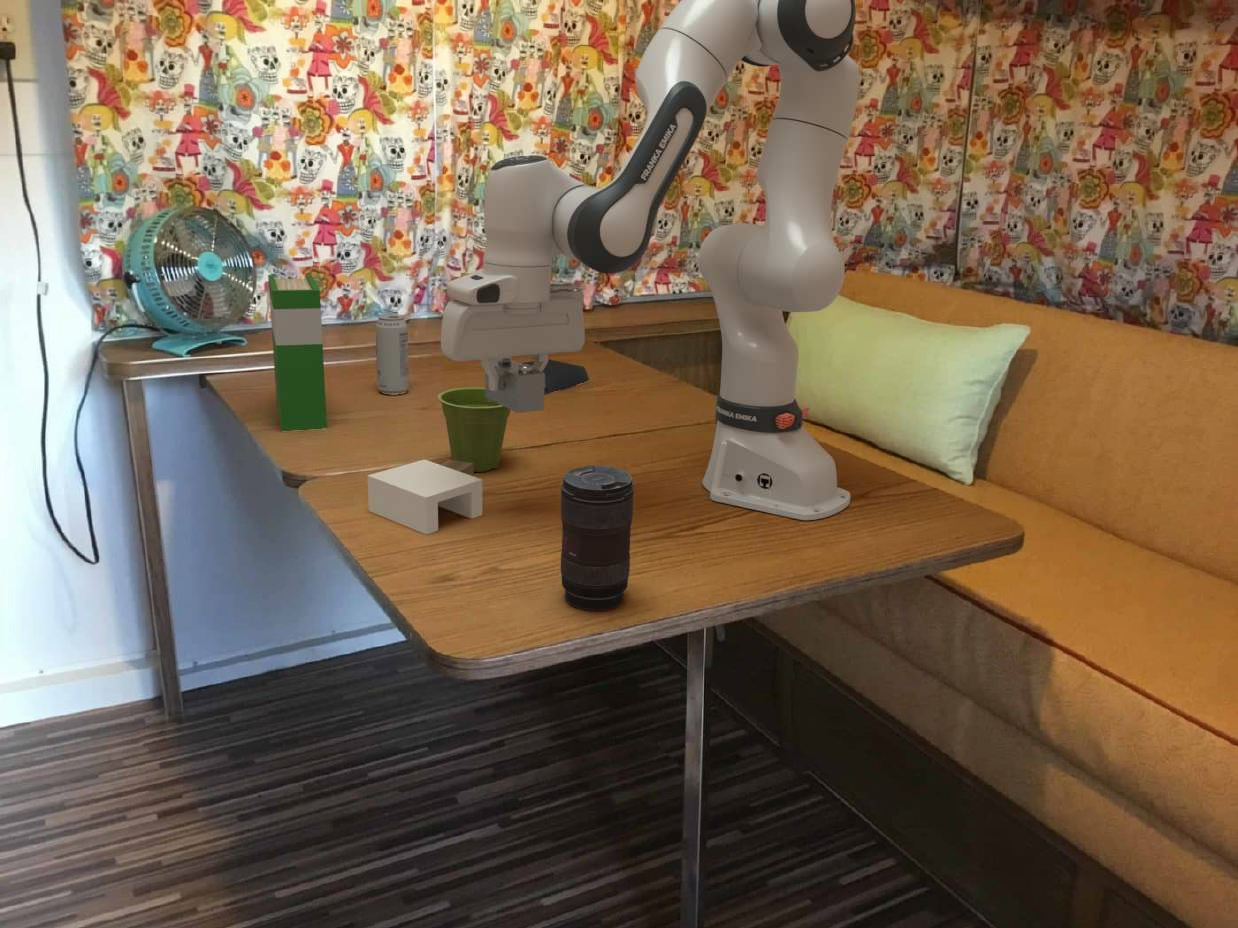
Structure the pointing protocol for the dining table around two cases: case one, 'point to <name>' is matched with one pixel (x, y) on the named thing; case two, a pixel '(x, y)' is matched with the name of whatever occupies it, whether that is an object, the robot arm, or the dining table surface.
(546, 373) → the external hard drive
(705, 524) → the dining table surface
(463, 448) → the plant pot
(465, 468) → the walnut block
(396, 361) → the energy drink can
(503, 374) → the block
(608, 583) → the camera lens
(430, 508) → the stand
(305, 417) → the hardback book
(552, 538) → the dining table surface
